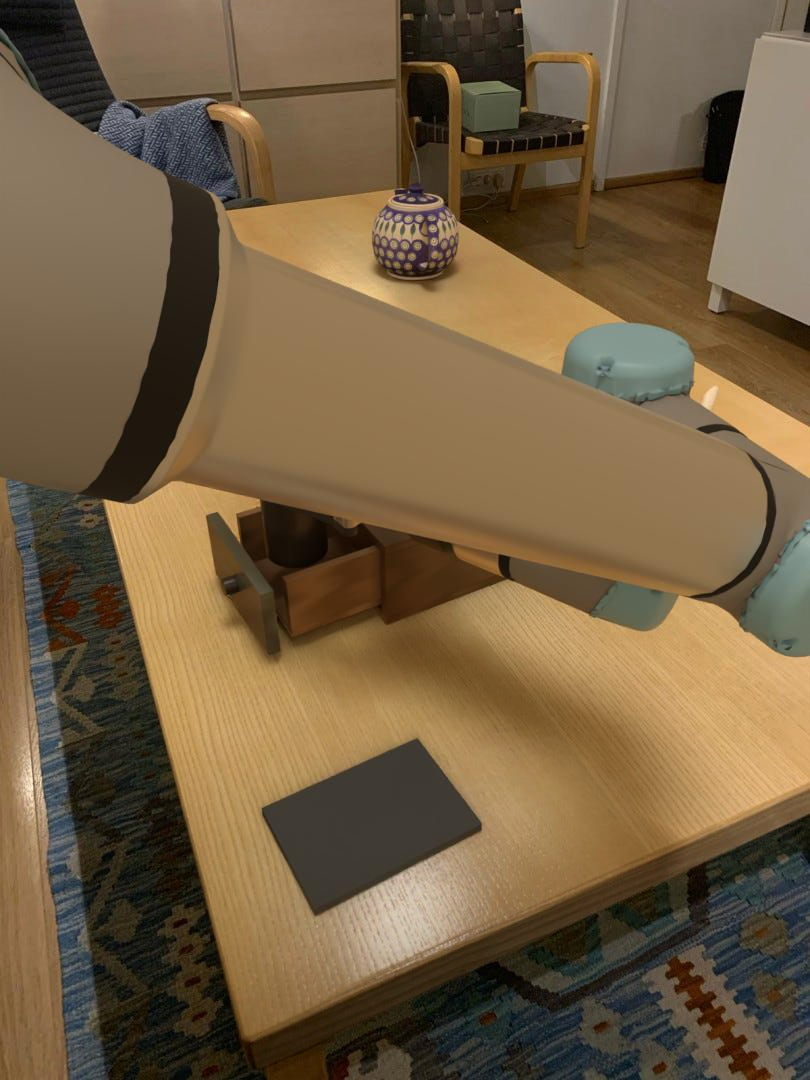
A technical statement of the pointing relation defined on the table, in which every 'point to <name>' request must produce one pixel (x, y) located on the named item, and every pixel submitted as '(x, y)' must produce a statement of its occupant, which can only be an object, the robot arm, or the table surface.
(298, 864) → the trivet mat
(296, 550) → the thermos bottle
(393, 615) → the cabinet
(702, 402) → the rabbit figurine
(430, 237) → the teapot
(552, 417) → the robot arm
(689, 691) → the table surface
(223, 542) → the drawer
